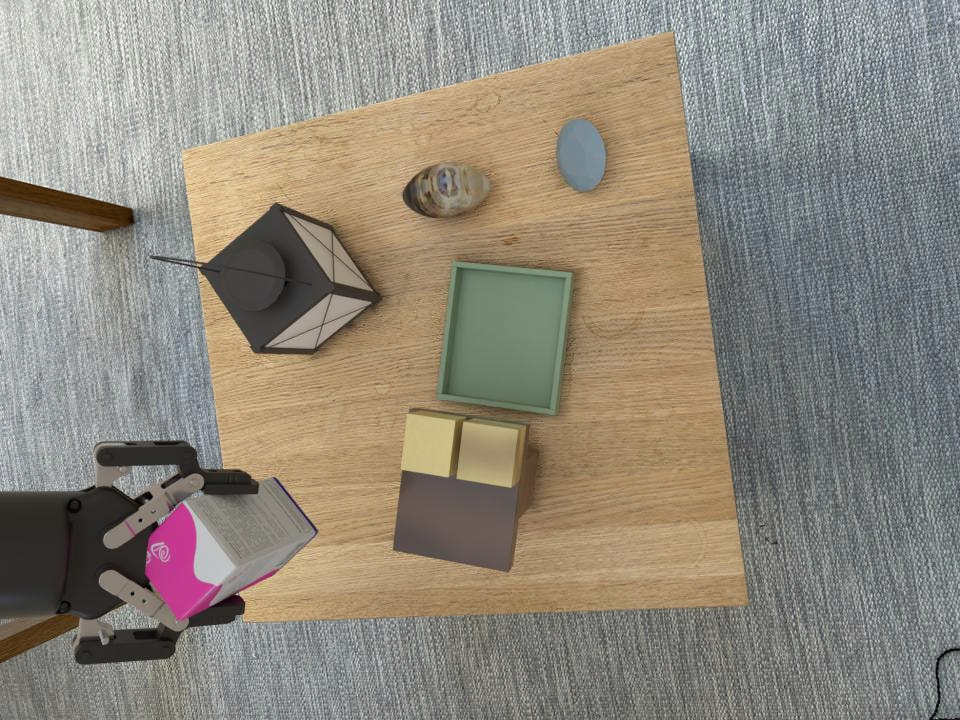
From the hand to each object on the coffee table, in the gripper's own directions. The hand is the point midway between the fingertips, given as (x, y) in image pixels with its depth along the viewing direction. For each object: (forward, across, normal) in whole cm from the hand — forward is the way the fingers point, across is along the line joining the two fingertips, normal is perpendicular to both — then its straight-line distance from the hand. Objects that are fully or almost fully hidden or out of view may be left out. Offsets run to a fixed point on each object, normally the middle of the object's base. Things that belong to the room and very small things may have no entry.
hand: (249, 544), depth 54 cm
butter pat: (+15, +8, +2) cm, 17 cm away
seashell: (+26, +32, +24) cm, 48 cm away
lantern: (+16, +20, +34) cm, 43 cm away
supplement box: (+3, 0, +5) cm, 6 cm away
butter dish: (+32, +17, +18) cm, 40 cm away
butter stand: (+33, +4, +17) cm, 37 cm away
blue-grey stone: (+36, +37, +14) cm, 53 cm away
